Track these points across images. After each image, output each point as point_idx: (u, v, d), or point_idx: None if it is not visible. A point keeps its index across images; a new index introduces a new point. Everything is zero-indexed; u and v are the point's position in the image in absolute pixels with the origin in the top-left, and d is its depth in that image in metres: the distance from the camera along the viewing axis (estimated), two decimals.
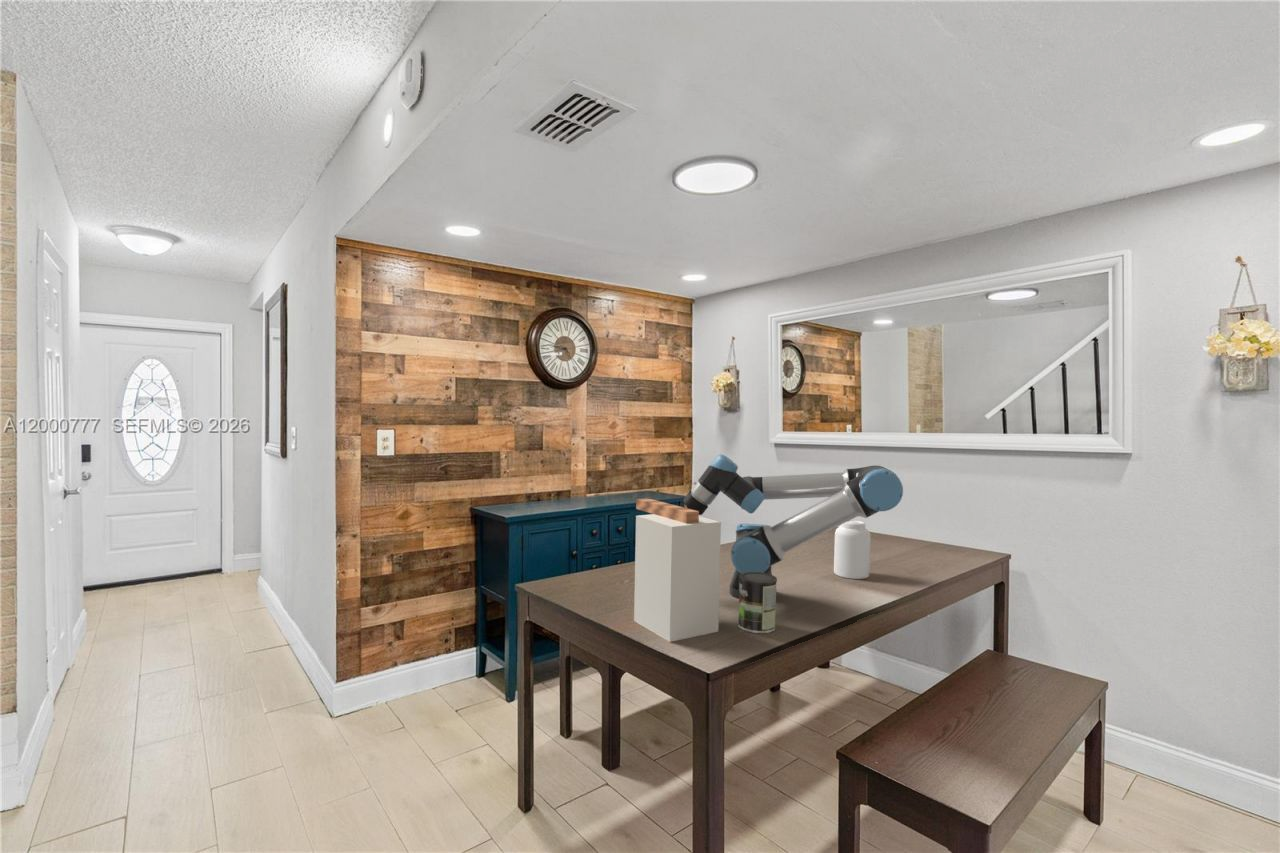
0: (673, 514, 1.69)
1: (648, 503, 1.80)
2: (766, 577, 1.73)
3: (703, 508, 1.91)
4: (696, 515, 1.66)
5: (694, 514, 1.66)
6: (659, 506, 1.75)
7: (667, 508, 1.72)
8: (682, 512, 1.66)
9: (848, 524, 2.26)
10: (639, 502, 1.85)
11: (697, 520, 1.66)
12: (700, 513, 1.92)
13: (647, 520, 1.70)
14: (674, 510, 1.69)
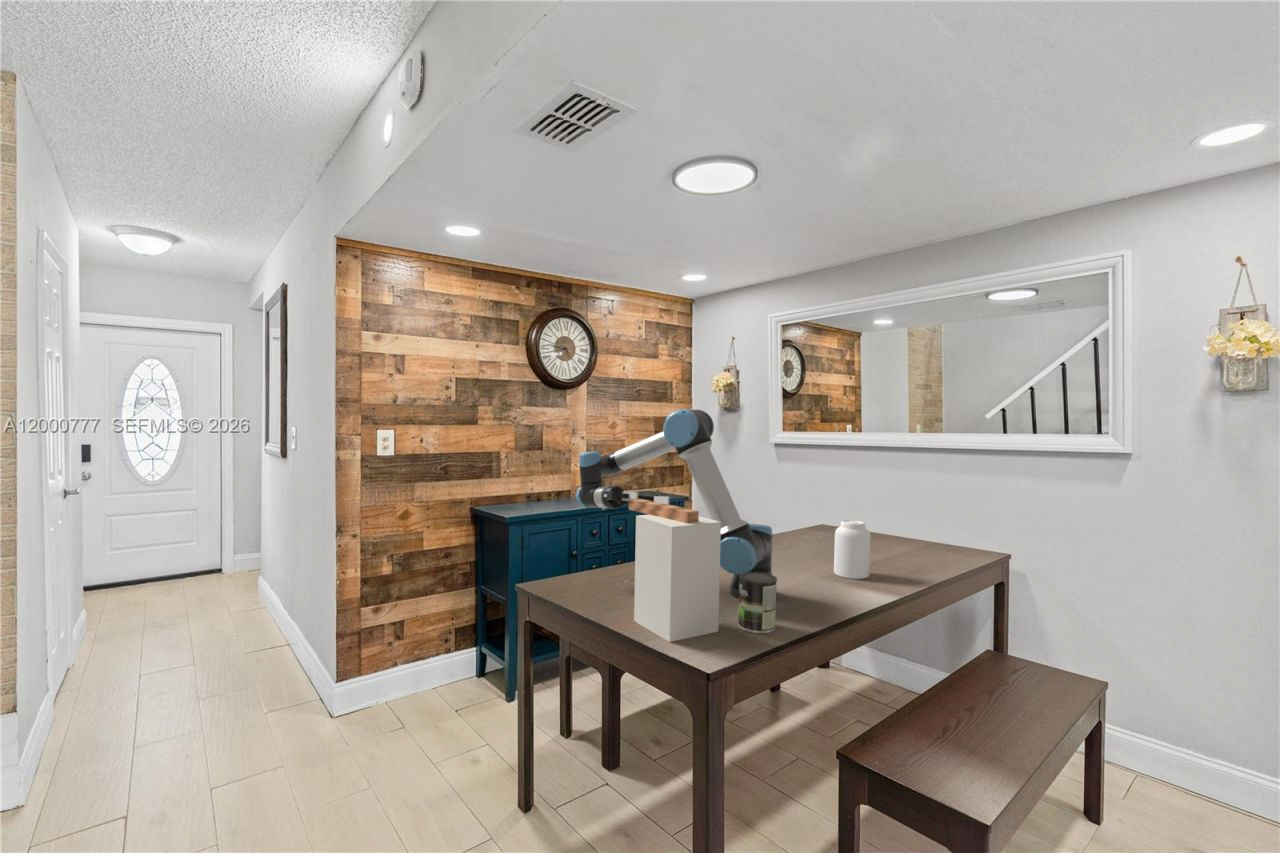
0: (672, 514, 1.69)
1: (643, 503, 1.79)
2: (766, 577, 1.73)
3: (607, 488, 2.07)
4: (696, 515, 1.66)
5: (694, 513, 1.66)
6: (656, 506, 1.75)
7: (665, 508, 1.72)
8: (682, 512, 1.66)
9: (848, 524, 2.26)
10: (633, 503, 1.83)
11: (697, 520, 1.67)
12: (612, 487, 2.06)
13: (647, 520, 1.70)
14: (673, 510, 1.69)
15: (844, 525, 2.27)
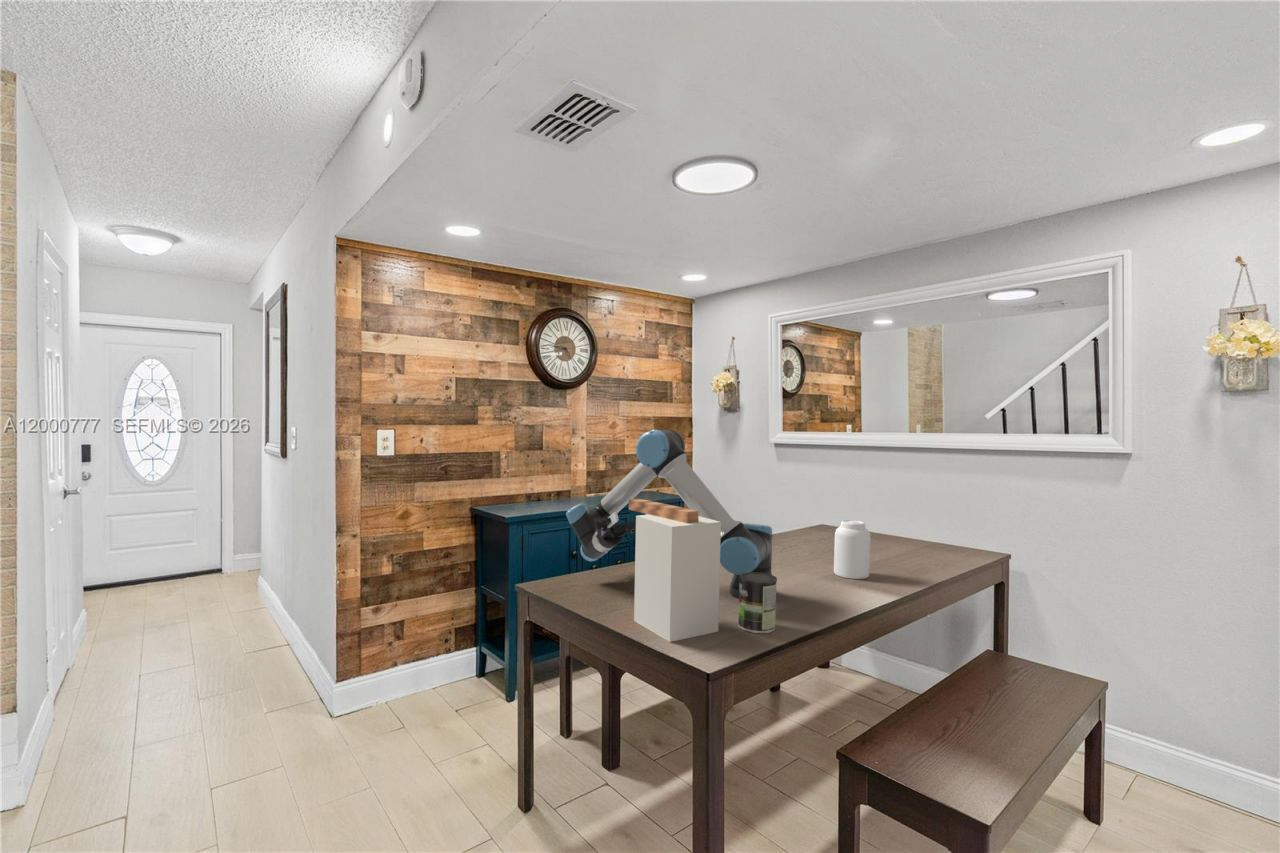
0: (672, 514, 1.69)
1: (643, 503, 1.79)
2: (766, 577, 1.73)
3: None
4: (696, 515, 1.66)
5: (694, 513, 1.66)
6: (656, 506, 1.75)
7: (665, 508, 1.72)
8: (682, 512, 1.66)
9: (848, 524, 2.26)
10: (633, 503, 1.83)
11: (697, 520, 1.67)
12: None
13: (647, 520, 1.70)
14: (673, 510, 1.69)
15: (844, 525, 2.27)
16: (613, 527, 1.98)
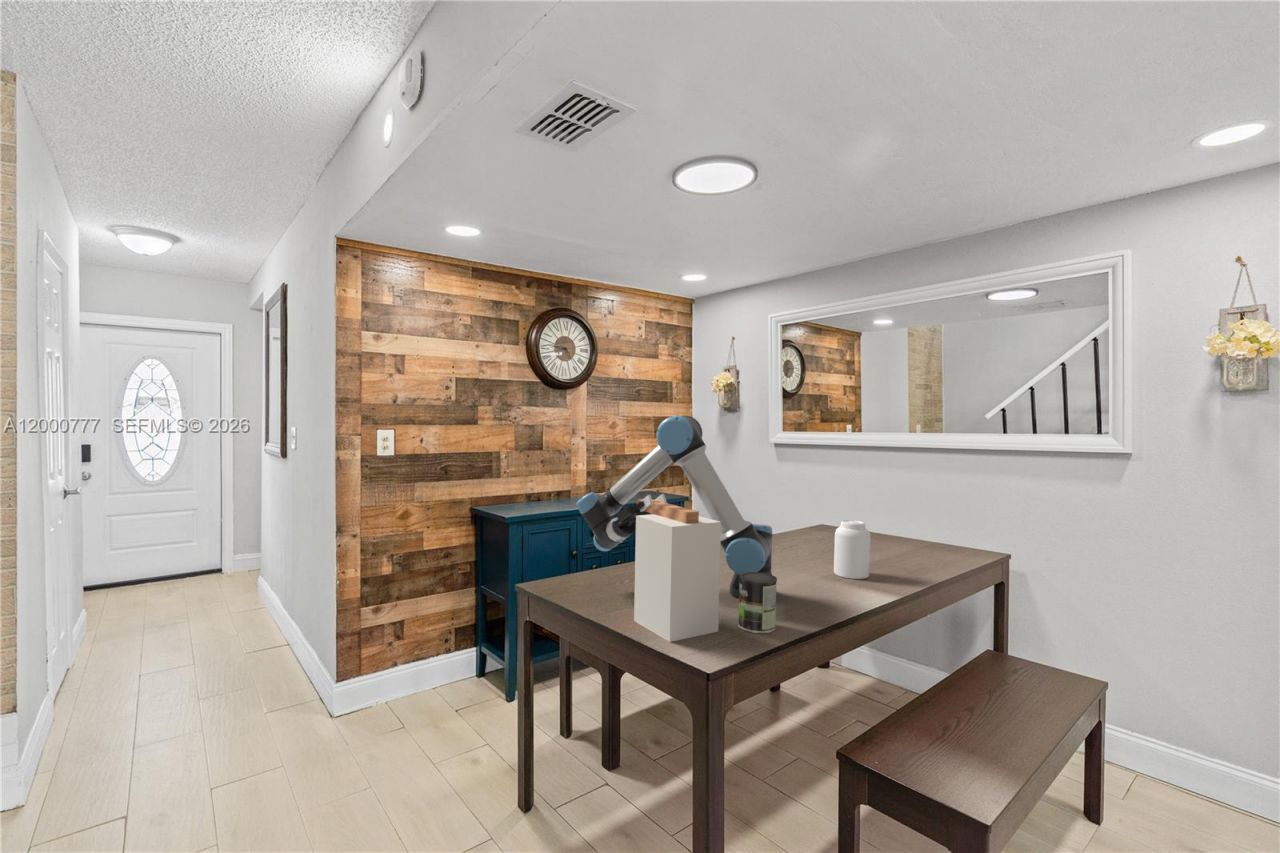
0: (673, 514, 1.69)
1: None
2: (766, 577, 1.73)
3: None
4: (696, 515, 1.66)
5: (694, 514, 1.65)
6: (659, 506, 1.75)
7: (667, 508, 1.72)
8: (682, 512, 1.66)
9: (848, 524, 2.26)
10: None
11: (697, 520, 1.66)
12: None
13: (647, 520, 1.70)
14: (674, 510, 1.69)
15: (844, 525, 2.27)
16: None
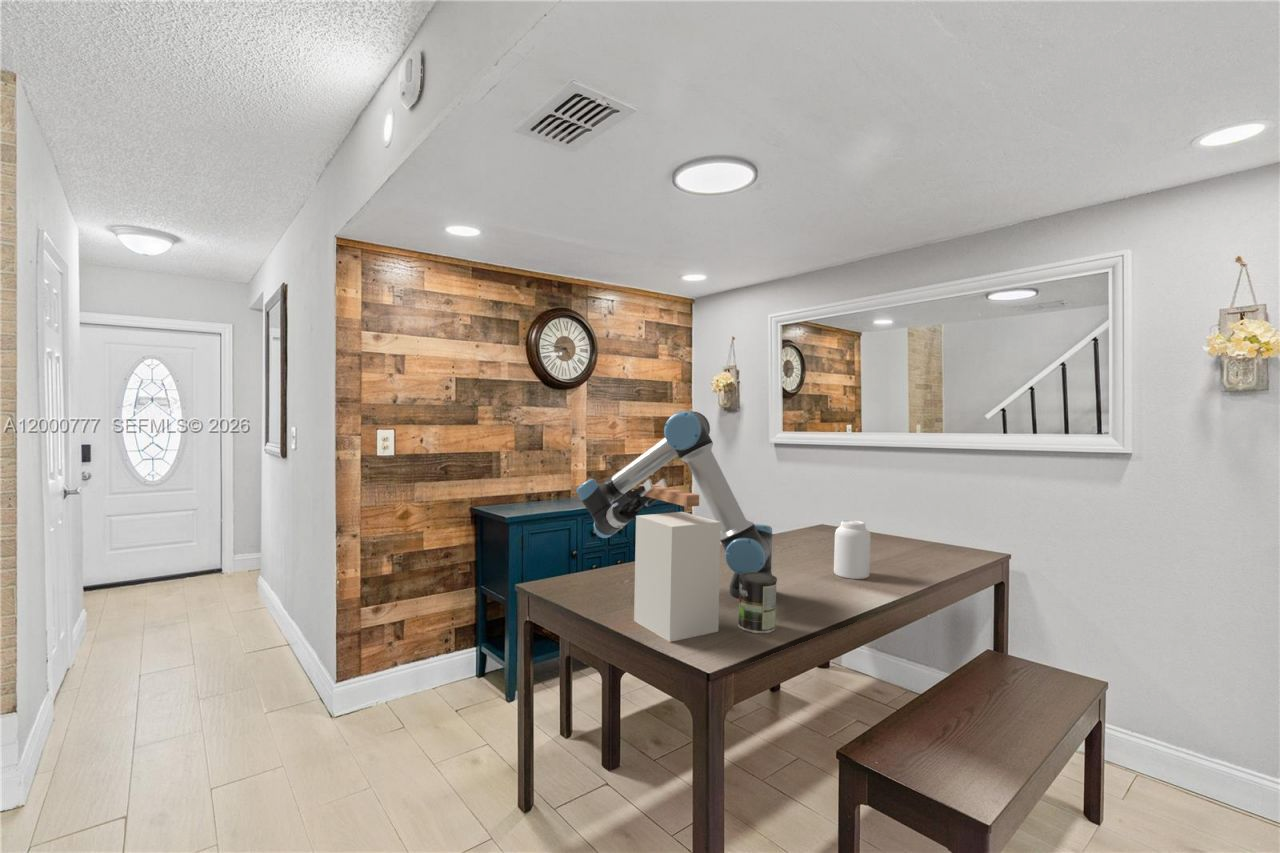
0: (674, 497, 1.69)
1: None
2: (766, 577, 1.73)
3: None
4: (696, 498, 1.66)
5: (695, 497, 1.65)
6: (659, 490, 1.75)
7: (667, 492, 1.72)
8: (682, 495, 1.66)
9: (848, 524, 2.26)
10: None
11: (697, 503, 1.66)
12: None
13: (647, 520, 1.70)
14: (674, 494, 1.69)
15: (844, 525, 2.27)
16: None
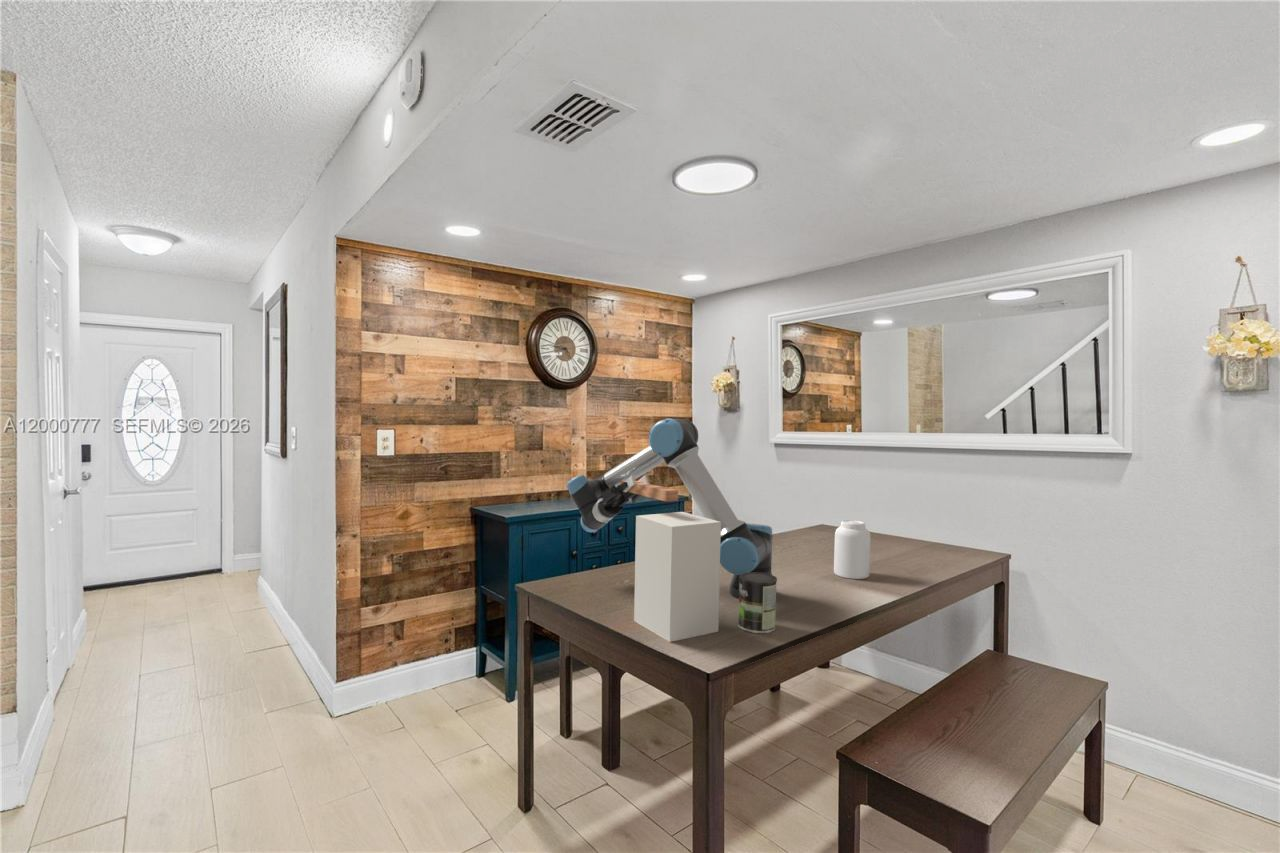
0: (654, 493, 1.78)
1: None
2: (766, 577, 1.73)
3: None
4: (675, 494, 1.74)
5: (674, 492, 1.74)
6: (641, 486, 1.84)
7: (648, 488, 1.80)
8: (662, 491, 1.74)
9: (848, 524, 2.26)
10: None
11: (676, 498, 1.74)
12: None
13: (647, 520, 1.70)
14: (655, 489, 1.77)
15: (844, 525, 2.27)
16: (613, 496, 1.98)
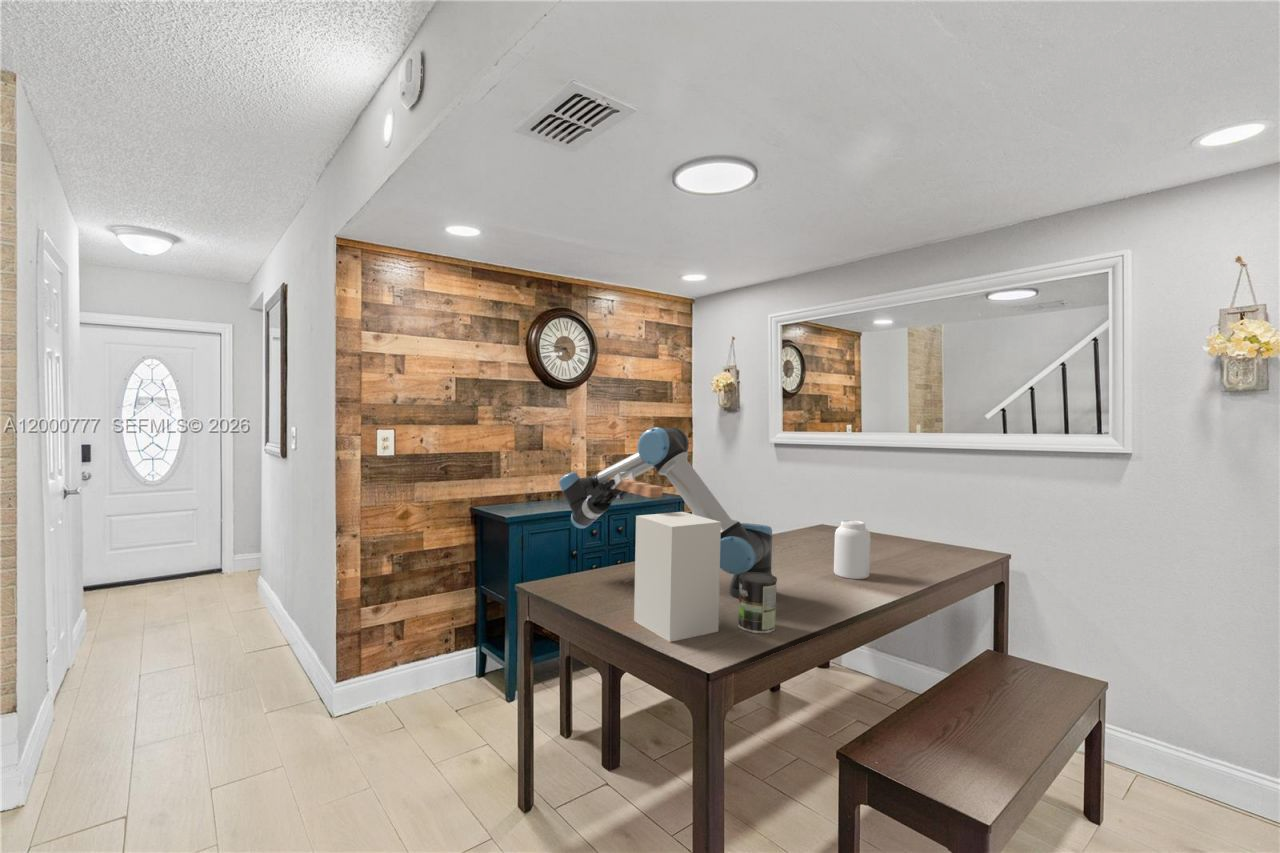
0: (640, 489, 1.84)
1: None
2: (766, 577, 1.73)
3: None
4: (660, 490, 1.81)
5: (658, 489, 1.81)
6: (628, 483, 1.91)
7: (634, 484, 1.87)
8: (647, 487, 1.81)
9: (848, 524, 2.26)
10: None
11: (661, 495, 1.81)
12: None
13: (647, 520, 1.70)
14: (640, 486, 1.84)
15: (844, 525, 2.27)
16: (602, 493, 2.05)
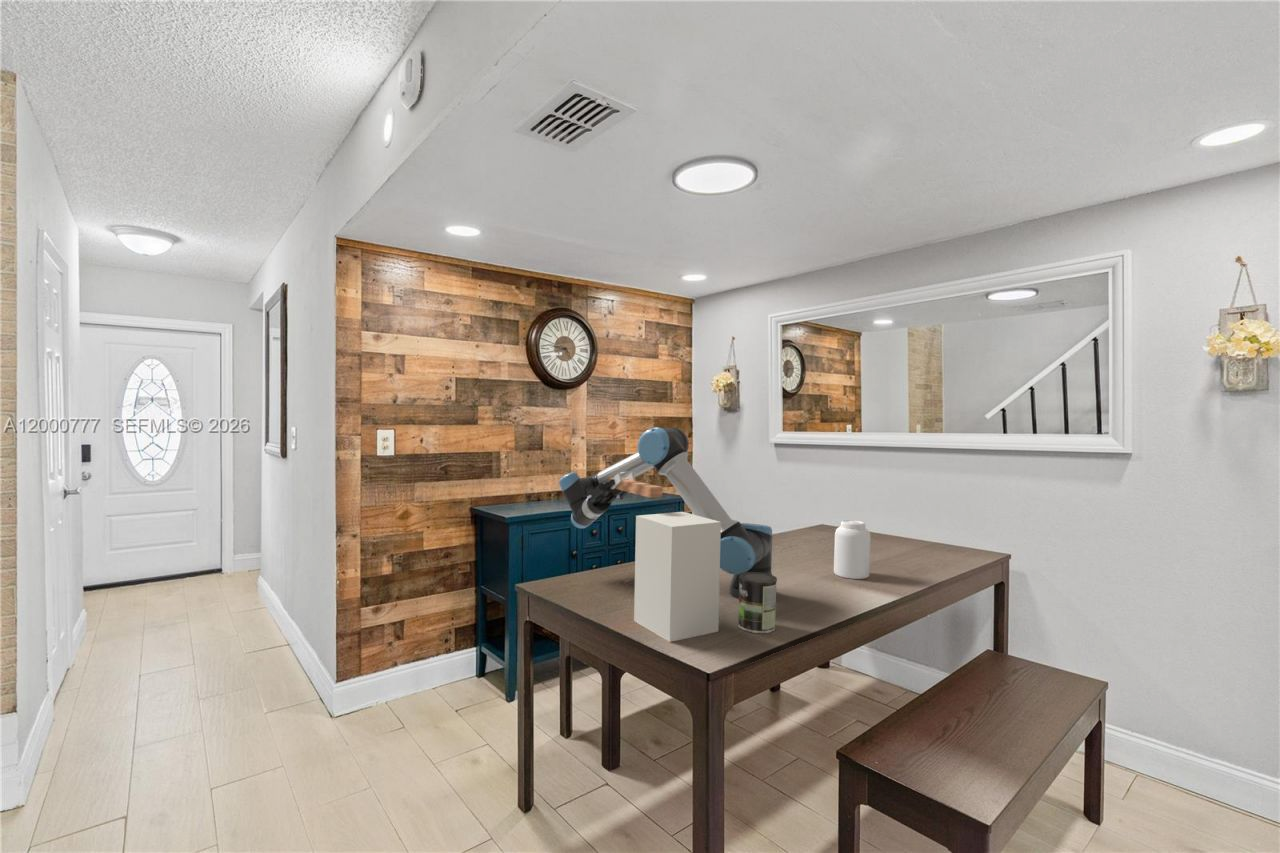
0: (640, 489, 1.84)
1: None
2: (766, 577, 1.73)
3: None
4: (660, 490, 1.81)
5: (658, 489, 1.81)
6: (628, 483, 1.91)
7: (634, 484, 1.87)
8: (647, 487, 1.81)
9: (848, 524, 2.26)
10: None
11: (661, 495, 1.81)
12: None
13: (647, 520, 1.70)
14: (640, 486, 1.84)
15: (844, 525, 2.27)
16: (602, 493, 2.05)
